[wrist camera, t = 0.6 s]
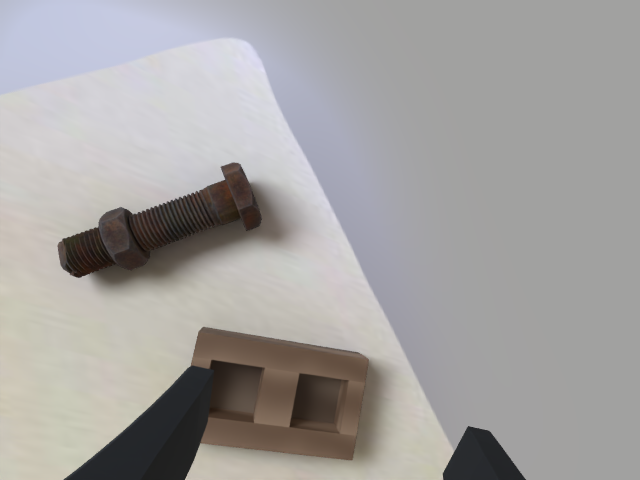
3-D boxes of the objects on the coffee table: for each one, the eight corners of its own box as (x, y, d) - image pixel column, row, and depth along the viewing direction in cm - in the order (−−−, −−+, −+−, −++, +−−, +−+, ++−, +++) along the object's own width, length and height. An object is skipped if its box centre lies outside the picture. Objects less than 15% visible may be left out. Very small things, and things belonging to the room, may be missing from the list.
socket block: (343, 444, 33) (352, 460, 30) (180, 424, 31) (173, 440, 28) (358, 352, 34) (368, 359, 31) (203, 326, 32) (198, 331, 29)
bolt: (85, 253, 32) (249, 193, 35) (91, 302, 30) (266, 233, 32) (40, 213, 27) (233, 147, 30) (41, 268, 25) (253, 190, 28)
